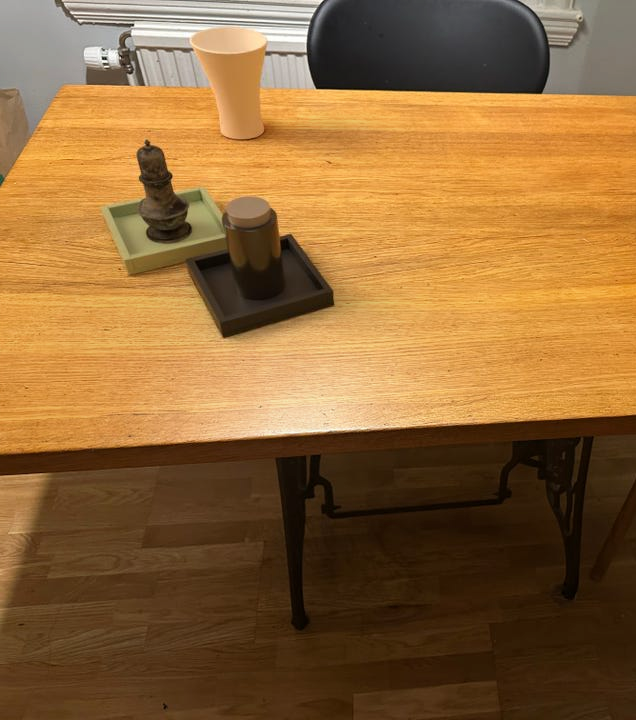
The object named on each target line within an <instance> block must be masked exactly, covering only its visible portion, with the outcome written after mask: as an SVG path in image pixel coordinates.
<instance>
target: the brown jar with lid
mask: <svg viewBox="0 0 636 720" xmlns="http://www.w3.org/2000/svg"><path fill="white" fill-rule="evenodd" d="M222 214H223V216H222V224H223V229H224V235H225V240H226V245H227V251H228V256H229V261H230V267H231V272H232V277H233V283H234V288H235V291H236V292H237V293H238V294H239V295H240V296H242V297H244V298H246V299H251V300H264V299H269V298H272V297H274V296H276V295H278V294H279V293H281V292H282V290H283V289H284V287H285V276H284V268H283V260H282V252H281V244H280V236H281V235H280V228H279V221H278V214H277V212H276V210H274V208H272V207H271V205H270V203H269V202H268V200H266V199H264V198H262V197H259V196H254V195H250V196H249V195H247V196H240V197H236V198H233V199H232V200H230V201H228V203H227V204H226V206H225V211H224V212H223V213H222Z"/></svg>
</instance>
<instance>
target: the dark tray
mask: <svg viewBox="0 0 636 720" xmlns="http://www.w3.org/2000/svg"><path fill="white" fill-rule="evenodd" d="M279 236H280V244H281V252H282V260H283V268H284V276H285V287H284V289H283V290H282V292H281V293H279V294H278V295H276V296H274V297H272V298H269V299H264V300H251V299H246V298H244V297H242V296H240V295H239V294H238V293H237V292H236V291H235V288H234V283H233V277H232V272H231V267H230V261H229V256H228V251H227V249H225V250H221V251H217V252H212V253H208V254H204V255H200V256H196V257H193V258H192V257H191V258H187V259H185V260H186V262H185V263H186V268H187V272H188V275H189V277H190V279H191V280H192V283H193V284H194V287H195V288H196V290H197V292H198V294H199V295H200V297H201V300H202V301H203V304H204V305H205V306H206V309H207V310H208V312H209V315H210V316H211V318H212V320H213V322H214V324H215V325H216V328H217V329H218V331H219V333H220V335H221V336H222V338H227V337H231V336H234V335H237V334H241V333H245V332H247V331H251V330H255V329H258V328H261V327H264V326H268V325H273V324H275V323H278V322H281V321H285V320H288V319H291V318H296V317H299V316H302V315H305V314H309V313H312V312H316V311H319V310H323V309H326V308H329V307H332V306H335V298H334V290H333V288H332V287H331V286H330V284H329V282H327V280H326V279H325V278H324V276H323V275H322V273H321V272H320V271H319V269H318V268H317V267H316V265H315V264H314V262H313V261H312V260H311V259H310V257H309V256H308V254H307V253H306V252H305V250H304V249H303V248H302V246H301V245H300V244H299V243H298V241H297V239H296V238H295V237H294V236H293V234H292V233H289V234H288V233H287V234H285V235H279Z"/></svg>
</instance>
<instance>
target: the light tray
mask: <svg viewBox="0 0 636 720" xmlns="http://www.w3.org/2000/svg"><path fill="white" fill-rule="evenodd" d="M174 193H175V194H178V195H181V196H183V197H185V198H186V199H187V200H188V202H189V208H188V214H187V218H186V220H185V221H186V222H188V223H189V224H190V225H191V227H192V232H191V234H190V235H189V236H188V237H187V238H185V239H184V240H181V241H179V242H174V243H157V242H154V241H151V240H150V239H149V238H147V236H146V230H147V228H148V227H149V225H148V224H146V222H145V221H144V220H143V219H142V217H141V216H140V215H139V214H138V212H137V210H136V208H137V205H138V203H139V202H140V201H141V200H142V199H144V198H146V196H145V197H140V198H135V199H131V200H126V201H120V202H115V203H110V204H107V205H106V204H105V205H101V206H100V210H101V213H102V217H103V220H104V223H105V225H106V227H107V229H108V232H109V233H110V236H111V238H112V241H113V244H114V245H115V247H116V250H117V252H118V254H119V256H120V259H121V261H122V264H123V266H124V268H125V270H126V273H127V274H128V276H131V275H136V274H140V273H145V272H149V271H153V270H158V269H162V268H166V267H169V266H173V265H177V264H181V263H182V264H183V263H186V260H185V259H187V258H191V257H192V258H193V257H196V256H200V255H204V254H208V253H212V252H217V251H221V250H225V249H227V245H226V240H225V235H224V229H223V224H222V216H223V214H224V213H222V211H221V210H220V208H219V207H218V205H217V204H216V202H215V200H214V198H213V197H212V196H211V194H210V192H209V191H208V190H207V188H206V186H205V185H202V186H197V187H193V188H186V189H181V190H177V191H174Z"/></svg>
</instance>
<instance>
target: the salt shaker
mask: <svg viewBox="0 0 636 720" xmlns="http://www.w3.org/2000/svg"><path fill="white" fill-rule="evenodd" d="M151 143H152V142H151V141H150V140H149V139H147V138H146V139H145V140H144V142H143V144H144V145H142V146H141V147H139V148H138V149H137V151H136V160H137V164H138V167H139V171H140V175H139V176H138V181H139V182H140V183H141V184H142V186H143V189H144V193H145V197H146V198H145V197H143V198H144V199H142V200H141V201H140V202H139V203H138V205H137V208H136V210H137V212H138V214H139V215H140V216H141V217H142V219H143V220H144V221H145V222H146V224H148V225H149V227H148V228H147V230H146V236H147V238H149V239H150V240H151V241H154V242H157V243H174V242H179V241H181V240H184V239H185V238H187V237H188V236H189V235H190V234H191V232H192V227H191V225H190V224H189V223H188V222H186V221H185V220H186V218H187V214H188V208H189V202H188V200H187V199H186V198H185V197H183V196H181V195H178V194H175V193H174V192H175V191H174V188H173V183H172V179H173V177H174V176H173V173H172V172H171V171H169V170H168V165H167V161H166V156H165V153H164V151H163V149H162V148H161V147H159V146H157V145H153V144H151Z"/></svg>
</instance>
